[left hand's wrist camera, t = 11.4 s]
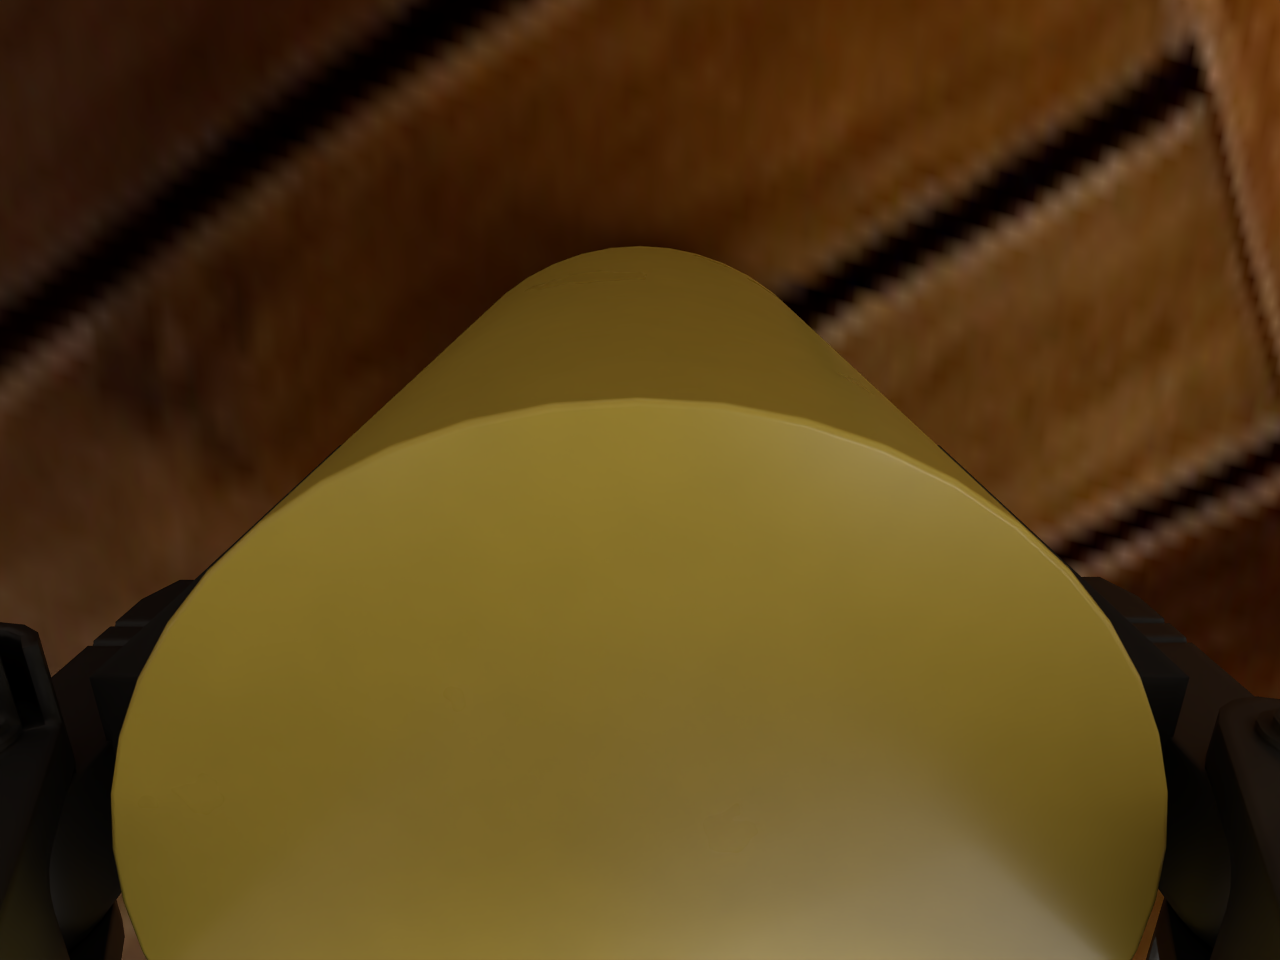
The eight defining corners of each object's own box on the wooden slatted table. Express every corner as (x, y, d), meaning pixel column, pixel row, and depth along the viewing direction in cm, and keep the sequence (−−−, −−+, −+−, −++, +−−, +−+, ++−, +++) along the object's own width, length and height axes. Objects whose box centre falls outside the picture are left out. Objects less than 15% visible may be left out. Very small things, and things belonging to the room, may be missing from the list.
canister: (554, 158, 15) (365, 134, 5) (927, 383, 16) (1410, 743, 6) (370, 525, 17) (-17, 1036, 7) (706, 692, 19) (786, 1314, 8)
